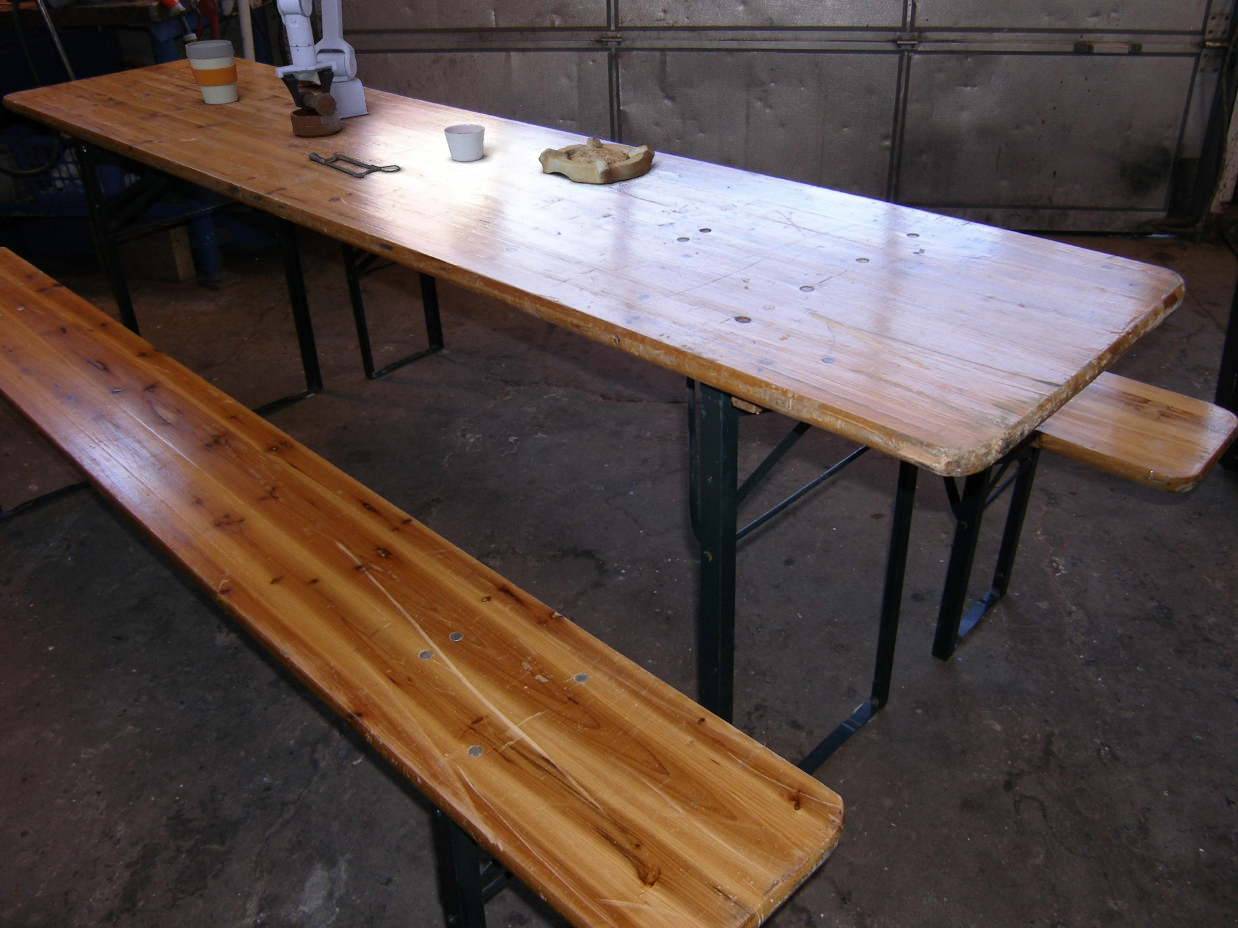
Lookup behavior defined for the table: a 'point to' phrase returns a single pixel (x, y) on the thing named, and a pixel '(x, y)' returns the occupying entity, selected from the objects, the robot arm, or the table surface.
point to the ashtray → (598, 161)
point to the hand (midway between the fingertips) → (312, 104)
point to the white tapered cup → (465, 141)
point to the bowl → (314, 123)
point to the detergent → (307, 79)
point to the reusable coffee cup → (214, 70)
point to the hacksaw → (371, 167)
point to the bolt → (318, 102)
